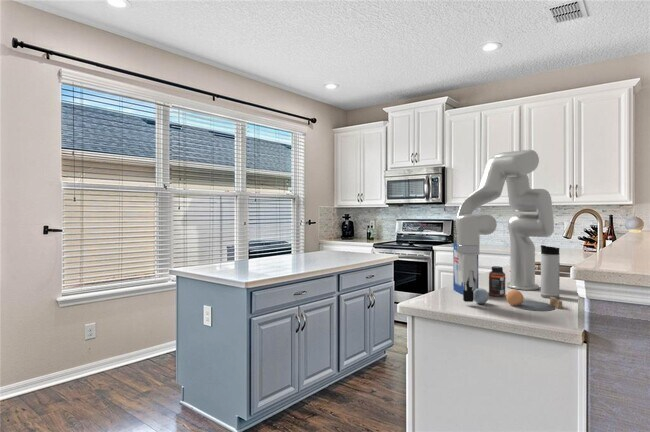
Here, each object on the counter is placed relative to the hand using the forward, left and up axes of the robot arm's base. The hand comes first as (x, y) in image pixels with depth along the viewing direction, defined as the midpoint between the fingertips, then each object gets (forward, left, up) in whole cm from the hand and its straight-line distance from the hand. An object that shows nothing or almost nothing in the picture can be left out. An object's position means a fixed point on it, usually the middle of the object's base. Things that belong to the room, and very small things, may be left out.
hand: (468, 301), depth 143 cm
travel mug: (-16, +34, -2) cm, 37 cm away
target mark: (-1, +22, -2) cm, 22 cm away
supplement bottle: (-17, +14, -2) cm, 23 cm away
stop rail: (-1, +30, -2) cm, 30 cm away
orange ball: (-1, +16, +1) cm, 16 cm away
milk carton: (-22, +4, -2) cm, 23 cm away
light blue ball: (-3, +5, +1) cm, 6 cm away
